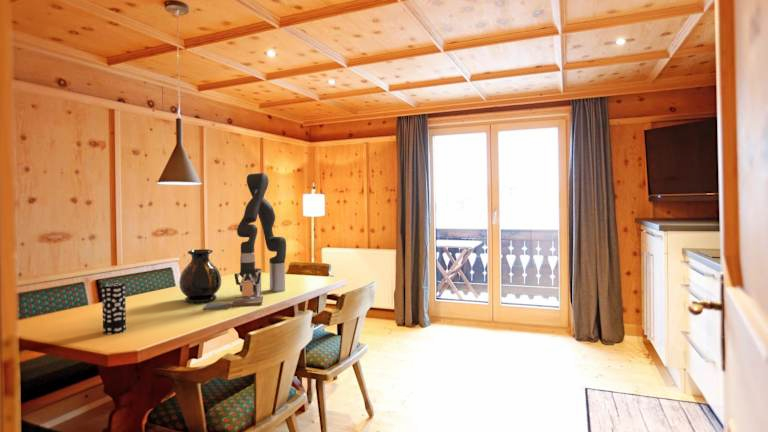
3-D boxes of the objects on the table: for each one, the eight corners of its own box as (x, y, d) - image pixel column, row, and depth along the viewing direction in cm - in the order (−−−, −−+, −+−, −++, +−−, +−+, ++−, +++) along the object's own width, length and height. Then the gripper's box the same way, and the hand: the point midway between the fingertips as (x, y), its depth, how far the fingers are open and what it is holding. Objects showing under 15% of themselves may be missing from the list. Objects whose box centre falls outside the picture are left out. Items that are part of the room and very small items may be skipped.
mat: (207, 304, 234) (207, 303, 234) (230, 303, 236) (230, 302, 236) (202, 310, 222) (202, 309, 222) (227, 309, 225) (227, 307, 225)
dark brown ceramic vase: (221, 303, 237) (220, 251, 236) (177, 306, 230) (176, 253, 229) (221, 295, 257) (221, 247, 256) (181, 298, 250) (180, 249, 249)
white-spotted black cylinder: (109, 328, 190) (108, 283, 189) (129, 328, 191) (128, 282, 190) (98, 334, 182) (97, 286, 181) (119, 334, 183) (118, 286, 182)
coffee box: (242, 297, 251) (241, 269, 251) (246, 295, 258) (246, 267, 257) (257, 297, 251) (257, 269, 250) (261, 295, 257) (261, 268, 256)
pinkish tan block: (243, 293, 240) (242, 281, 240) (253, 293, 242) (253, 280, 241) (242, 295, 235) (241, 282, 235) (253, 295, 236) (252, 282, 236)
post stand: (235, 300, 244) (234, 281, 244) (263, 299, 247) (262, 280, 247) (231, 306, 229) (231, 286, 229) (261, 305, 233) (261, 285, 232)
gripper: (261, 259, 243) (262, 290, 243) (234, 260, 240) (234, 291, 240) (261, 261, 235) (261, 292, 236) (232, 262, 232) (233, 294, 233)
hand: (247, 291), depth 238 cm, fingers closed on pinkish tan block, 5 cm apart
